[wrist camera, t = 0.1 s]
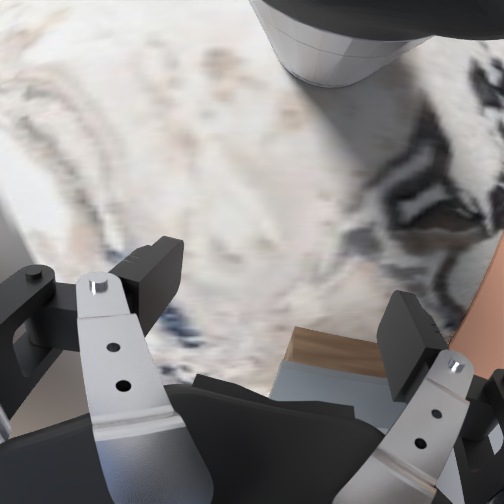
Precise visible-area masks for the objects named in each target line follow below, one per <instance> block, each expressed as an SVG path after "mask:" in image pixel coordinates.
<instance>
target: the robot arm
mask: <svg viewBox="0 0 504 504" xmlns="http://www.w3.org/2000/svg"><path fill="white" fill-rule="evenodd" d="M249 2H250V4H251V6H252V8H253V10H254V12H255V13H256V15H257V17H258V19H259V21H260V23H261V25H262V27H263V29H264V31H265V33H266V35H267V37H268V39H269V41H270V44H271V46H272V48H273V50H274V52H275V54H276V56H277V58H278V59H279V61H280V62H281V63H282V65H283V66H284V67H285V68H286V69H287V70H288V71H289V72H290V73H291V74H293V75H294V76H295V77H297V78H299V79H300V80H302V81H304V82H306V83H309V84H312V85H315V86H319V87H326V88H337V87H344V86H348V85H352V84H354V83H356V82H358V81H360V80H362V79H364V78H365V77H367V76H369V75H370V74H372V73H374V72H375V71H377V70H378V69H380V68H382V67H383V66H385V65H386V64H388V63H390V62H391V61H393V60H395V59H396V58H398V57H400V56H401V55H403V54H405V53H406V52H408V51H410V50H411V49H413V48H415V47H416V46H418V45H420V44H422V43H423V42H425V41H426V40H428V39H430V38H432V37H433V36H435V35H437V36H443V37H449V38H456V39H465V40H499V39H504V0H249ZM183 250H184V242H183V240H179V239H175V238H171V237H167V236H163V237H161V238H160V239H159V240H158V241H157V242H156V243H154V244H153V245H152V246H150V245H146V246H144V247H141V248H138V249H136V250H135V251H133V252H132V253H131V254H130V256H127V257H126V258H125V259H124V261H123V260H122V261H121V262H120V263H119V264H118V265H116V266H115V267H114V268H113V269H112V270H110V271H109V272H108V273H107V272H91V273H87V274H85V275H83V276H81V277H80V278H79V279H78V280H77V282H76V284H66V283H58V282H56V281H55V273H54V270H53V269H52V268H50V267H48V266H45V265H30V266H26V267H24V268H22V269H20V270H18V271H17V272H16V273H15V274H13V275H12V276H10V277H9V278H8V279H6V280H5V281H3V282H2V283H1V284H0V504H452V502H450V500H449V499H448V498H447V497H446V496H445V495H444V494H442V492H441V491H440V490H439V489H438V488H437V487H436V483H437V480H438V478H439V476H440V474H441V472H442V470H443V468H444V466H445V464H446V462H447V460H448V457H449V455H450V453H451V451H452V448H454V452H455V457H456V461H457V466H458V470H459V475H460V480H461V485H462V490H463V496H464V502H465V504H504V440H503V444H502V447H501V449H500V450H499V451H498V452H497V453H496V454H495V455H494V452H493V449H492V446H491V443H490V440H489V437H488V435H489V433H490V432H491V431H492V430H493V429H494V428H495V427H496V425H497V424H498V423H499V425H500V427H501V430H502V433H503V436H504V369H496V370H494V372H493V373H492V375H491V376H490V378H489V379H485V378H483V377H480V376H477V375H474V367H473V365H472V363H471V362H470V361H469V359H467V358H466V357H465V356H464V355H462V354H461V353H459V352H456V351H454V350H449V348H448V346H447V344H446V342H445V340H444V338H443V337H442V335H441V333H440V331H439V329H438V327H437V326H436V324H435V322H434V320H433V318H432V317H431V316H430V315H429V314H428V313H427V312H426V311H425V310H424V309H423V308H422V306H421V305H420V303H419V301H418V299H417V298H416V296H415V294H412V293H408V292H403V291H399V290H396V291H395V292H394V293H393V294H392V296H391V299H390V301H389V304H388V306H387V308H386V311H385V313H384V315H383V318H382V320H381V322H380V324H379V327H378V331H377V342H378V345H379V349H380V352H381V356H382V360H383V364H384V368H385V372H386V376H387V380H388V384H389V388H390V392H391V396H392V400H393V402H402V403H406V407H405V408H404V409H403V411H402V412H401V414H400V415H399V416H398V418H397V419H396V421H395V422H394V423H393V425H392V426H391V428H390V429H389V430H388V432H387V433H386V434H384V433H382V432H381V431H380V430H378V429H377V428H376V427H374V426H372V425H370V424H369V423H367V422H365V421H362V420H360V419H357V418H355V412H354V406H350V405H343V404H336V403H329V402H323V401H276V400H272V399H270V398H267V397H265V396H263V395H260V394H258V393H256V392H253V391H251V390H249V389H246V388H244V387H242V386H240V385H237V384H234V383H230V382H226V381H222V380H219V379H215V378H211V377H207V376H204V375H200V374H197V375H196V377H195V380H194V382H193V384H171V385H164V386H163V384H162V382H161V379H160V377H159V374H158V372H157V369H156V367H155V364H154V362H153V359H152V357H151V354H150V351H149V349H148V346H147V343H146V340H145V337H146V335H147V334H148V332H149V331H150V330H151V328H152V327H153V325H154V324H155V323H156V321H157V320H158V318H159V317H160V316H161V314H162V313H163V311H164V310H165V309H166V307H167V306H168V304H169V303H170V302H171V300H172V299H173V297H174V296H175V295H176V293H177V291H178V288H179V285H180V280H181V270H182V260H183ZM22 323H24V324H25V328H26V332H25V333H24V334H23V335H22V336H21V337H20V338H19V339H18V340H17V341H16V342H15V343H14V344H13V343H12V341H13V335H14V333H15V331H16V330H17V329H18V327H20V326H21V325H22ZM63 350H69V351H77V352H80V354H81V362H82V369H83V376H84V383H85V389H86V394H87V400H88V406H89V411H90V412H89V413H87V414H84V415H81V416H78V417H76V418H73V419H70V420H67V421H64V422H61V423H59V424H55V425H52V426H49V427H46V428H43V429H40V430H37V431H34V432H31V433H27V434H24V435H21V436H17V437H14V438H11V439H9V437H10V434H11V424H10V419H11V418H12V416H13V415H14V414H15V412H16V411H17V410H18V408H19V407H20V406H21V404H22V403H23V401H24V400H25V399H26V397H27V396H28V395H29V393H30V392H31V391H32V389H33V388H34V387H35V386H36V384H37V383H38V382H39V380H40V379H41V378H42V376H43V375H44V374H45V372H46V371H47V370H48V369H49V367H50V366H51V365H52V364H53V362H54V361H55V360H56V359H57V358H58V356H59V355H60V354H61V353H62V351H63ZM8 439H9V440H8Z"/></svg>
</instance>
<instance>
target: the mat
mask: <svg viewBox="0 0 504 504" xmlns="http://www.w3.org/2000/svg"><path fill="white" fill-rule="evenodd" d="M448 348H449V350H454V351H456V352H459V353H461V354H462V355H464V356H465V357H466V358H467V359H469V361H470V362H471V363H472V365H473V367H474V375H477V376H480V377H483V378H485V379H489V378H490V376H491V375H492V373H493V372H494V370H496V369H504V232H503V234H502V237H501V240H500V242H499V245H498V247H497V250H496V252H495V255H494V257H493V259H492V262H491V264H490V266H489V269H488V271H487V273H486V275H485V277H484V280H483V282H482V284H481V286H480V288H479V290H478V292H477V294H476V296H475V298H474V300H473V302H472V304H471V306H470V308H469V310H468V312H467V314H466V315H465V317H464V319H463V321H462V323H461V325H460V326H459V328H458V330H457V332H456V333H455V335H454V337H453V339H452V340H451V342H450V344H449V345H448Z"/></svg>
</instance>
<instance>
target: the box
mask: <svg viewBox="0 0 504 504" xmlns="http://www.w3.org/2000/svg"><path fill="white" fill-rule="evenodd" d="M284 360H287V361H291V362H296V363H301V364H306V365H311V366H316V367H321V368H326V369H332V370H337V371H343V372H349V373H355V374H361V375H367V376H373V377H380V378H387V376H386V372H385V368H384V364H383V360H382V356H381V352H380V349H379V345H378V343H373V342H367V341H362V340H357V339H352V338H347V337H342V336H337V335H332V334H327V333H323V332H318V331H313V330H309V329H304V328H299V327H295V328H294V331H293V334H292V337H291V340H290V343H289V346H288V349H287V351H286V354H285V357H284Z"/></svg>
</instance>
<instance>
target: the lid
mask: <svg viewBox="0 0 504 504" xmlns="http://www.w3.org/2000/svg"><path fill="white" fill-rule="evenodd" d="M269 398H270V399H272V400H276V401H323V402H329V403H336V404H343V405H350V406H354V412H355V418H357V419H360V420H362V421H365V422H367V423H369V424H370V425H372V426H374V427H376V428H377V429H378V430H380V431H381V432H382V433H384V434H386V433H387V432H388V430H389V429H390V428H391V426H392V425H393V423H394V422H395V421H396V419H397V418H398V416H399V415H400V414H401V412H402V411H403V409H404V408H405V407H406V403H402V402H393V400H392V396H391V392H390V388H389V384H388V380H387V378H380V377H373V376H367V375H361V374H355V373H349V372H343V371H337V370H332V369H326V368H321V367H316V366H311V365H306V364H301V363H296V362H291V361H287V360H282V361H281V364H280V367H279V370H278V373H277V376H276V378H275V381H274V384H273V387H272V389H271V392H270V395H269Z"/></svg>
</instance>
